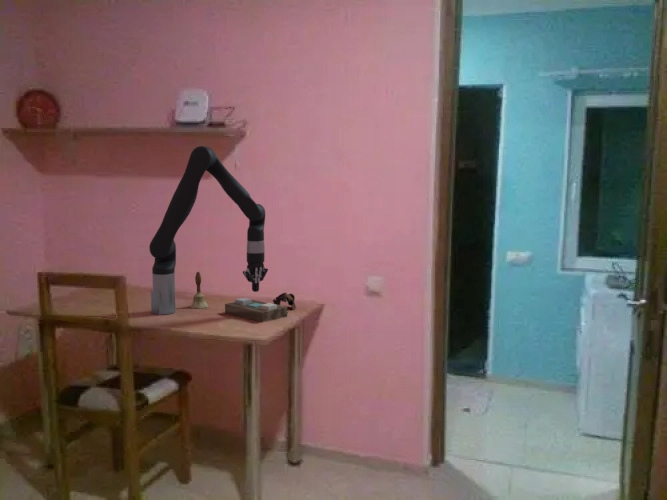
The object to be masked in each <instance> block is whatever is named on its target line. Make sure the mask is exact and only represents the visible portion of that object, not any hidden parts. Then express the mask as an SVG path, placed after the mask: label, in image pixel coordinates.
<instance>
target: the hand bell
mask: <svg viewBox="0 0 667 500" xmlns="http://www.w3.org/2000/svg"><path fill="white" fill-rule="evenodd" d="M195 273H196V274H195V277H194V279H195V284H196V294H194V295H193V299H192V303H191V304H190V305H189V308H190V309H193V310H195V309H196V310H198V309H199V310H200V309H207V308H209V304H208V303H207V302H206V299H205V294H202V291H201V283H202V276H201V273H200V271H196V272H195Z"/></svg>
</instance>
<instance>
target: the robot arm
mask: <svg viewBox="0 0 667 500" xmlns="http://www.w3.org/2000/svg"><path fill="white" fill-rule="evenodd" d="M184 170H185V171H184V173H183V176H182V177H181V179H180V181H179V183H178V184H177V187H176V189H175V191H174V193H173V195H172V197H171V199H170V202H169V204H168V207H167V209H166V212H165V214H164V216H163V219H162V222H161V224H160V225H159V227H158V229H157V231H156V233H155V235H154V236H153V237H152V239H151V241H150V243H149V246H148V247H149V253H150V254H151V256H152V257H153V258H154V263H153V266H152V268H151V270H152V290H151V291H150V305H151V306H150V308H151V309H150V311H151V313H152V314H155V315H159V316H160V315H172V314H174V313H176V283H175V282H176V278H175V277H176V275H175V274H176V272H175V270H176V269H175V268H176V265H177V264H176V263H177V247H176V241H175V238H176V234H177V232H178V231H179V229H180V228H181V226H182V225H183V224H184V222H185V221H186V220H187V219H188V217H189V215H190V214H191V211H192V210H193V207H194V205H195V203H196V201H197V197H198V191H199V185H200V182H201V180H202V178H203V176H204V174H205V172H206V171H207V172H208V173H209V174H210V176H212V177H213V178H214V179H215V180H216V181H217V182H218V184H219V185H220V186H221V189H223V191H224V193H225V194H226V195H227V196H228V197H229V198H230V199H231V200H232V201H233V202H234V203H235V204H236V205H237V206H238V208H239V210H240V211H241V212H242V214H243V215H244V216H245V217H246V218H247V219H248V221H249V222H248V224H249V225H248V227H247V233H246V234H247V235H246V237H247V238H246V239H247V241H246V263H247V265H246V269H245V270H243V271H242V274H243V275H244V277H245V278H246V280H247V282H249V283H251V291H252V292H254V293H257V292H259V290H260V282H262V281H264V278H265V277H266V275H267V273H268V271H269V269H268V268H266V267H265V264H264V263H265V250H266V249H265V248H266V247H265V246H266V245H265V230H264V229H265V225H266V224H265V221H266V210H265V207H264V206H263V205H262V204H260V203H257V202H255V201H254V199H253V198H252V197H251V195H250V193H249V192H248V191H247V190H246V188H245V187H244V186H243V185H242V184H241V183H240V182H239V181H238V179H236V178H235V176H233V175H232V174H231V173H230V172H229V170H228V169H227V168H226V166H225V165H224V164H223V163H222V161H221V160H220V158H219V157H218V155H217V154H216V152H215V151H214V150H213V149H212V148H211V147H209V146H204V145H199V146H197V147H195V148H194V149H193V150H192V151H191V153H190V156H189V159H188V161H187V164H186V167H185V169H184Z"/></svg>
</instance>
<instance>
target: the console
mask: <svg viewBox="0 0 667 500" xmlns="http://www.w3.org/2000/svg"><path fill="white" fill-rule="evenodd" d="M254 303H258V304H267V303H268V302H265V301H260V300H256V299H252V303H249V304H254ZM249 304H245V305H241V304H237V303H235V301H233V302H228V303H225V304H224V314H228V315H232V316H235V317H240V318H243V319H248V320H252V321H256V322H260V323H267V322H270V321H274V320H277V319H281V318H286V317H288V307H287V306H285V305H284V306H283V305H281V304H280V305H277V309H274V310H269V311H268V310H263V309H260V307H256V308H254V307H250V306H248V305H249Z"/></svg>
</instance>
